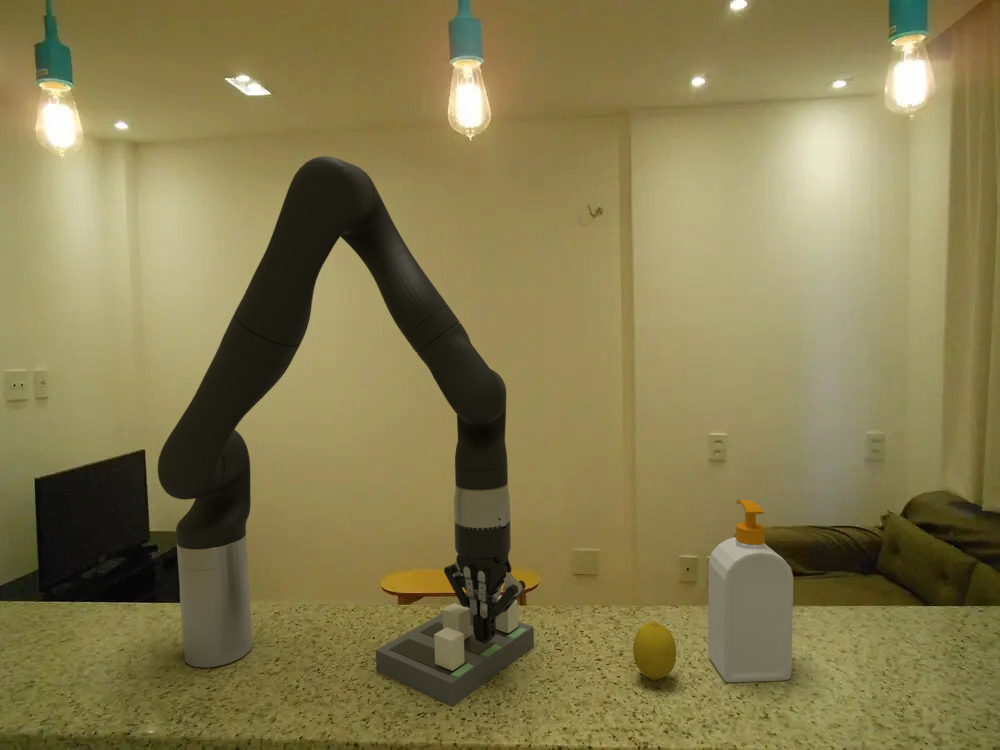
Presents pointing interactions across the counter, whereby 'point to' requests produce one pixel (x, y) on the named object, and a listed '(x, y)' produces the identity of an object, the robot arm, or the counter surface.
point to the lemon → (654, 650)
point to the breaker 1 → (449, 648)
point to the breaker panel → (417, 668)
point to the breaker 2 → (508, 618)
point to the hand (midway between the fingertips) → (484, 639)
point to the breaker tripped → (457, 619)
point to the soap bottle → (750, 606)
